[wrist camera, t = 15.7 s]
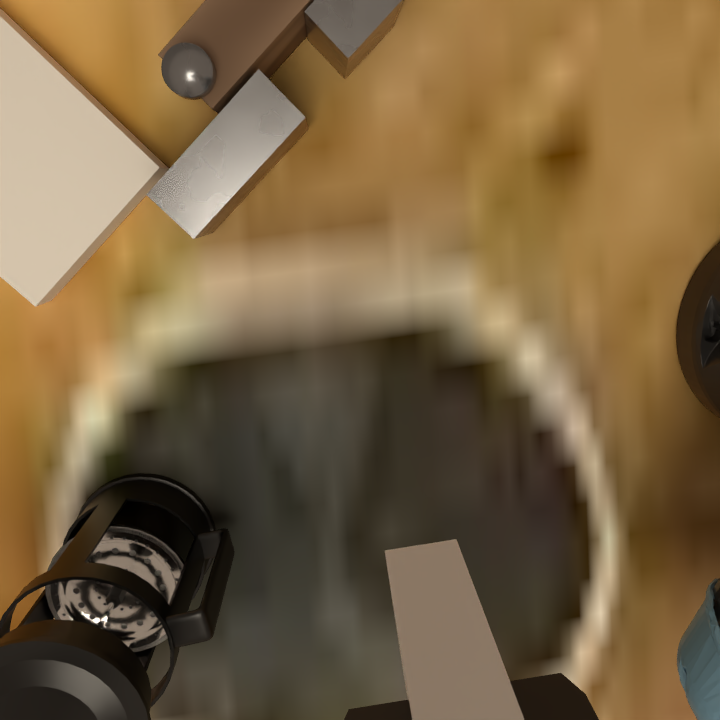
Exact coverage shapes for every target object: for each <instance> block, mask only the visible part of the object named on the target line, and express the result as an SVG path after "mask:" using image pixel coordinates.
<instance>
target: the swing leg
mask: <svg viewBox="0 0 720 720" xmlns="http://www.w3.org/2000/svg"><path fill="white" fill-rule="evenodd" d="M313 1H314V0H205V1H204V3H203V4H202V5H201V6H200V7H199V8H198V9H197V11H196V12H195V13H194V14H193V15H192V16H191V17H190V19H189V20H188V21H187V22H186V23H185V24H184V25H183V27H182V28H181V29H180V30H179V31H178V32H177V34H176V35H175V36H174V37H173V38H172V39H171V40H170V42H169V43H168V44H167V45H166V46H165V47H164V48H163V50H162V51H161V52H160V53H159V54H158V55H159V56H160V57H161V58H162V59H163V57H164V55H165V53H166V52H167V51H168V50H169V49H170V48H171V47H172V46H174V45H176V44H178V43H184V42H187V43H192V44H195V45H197V46H199V47H200V48H202V49H203V50H204V51H205V52H206V53H207V55H208V56H209V57H210V58H211V60H212V62H213V63H214V66H215V70H216V81H215V84H214V87H213V88H212V90H211V91H210V93H208V94H207V95H206V96H205V97H203V98H202V99H203V100H204V101H205V102H206V103H207V104H208V105H209V106H210V107H211V108H212V109H213V110H214V111H216V112H217V113H218V114H219V113H220V112H221V111H222V109H223V108H224V107H225V106H226V105H227V104H228V103H229V102H230V101H231V99H232V98H233V97H234V96H235V95H236V94H237V93H238V92H239V91H240V89H241V88H242V87H243V86H244V85H245V84H246V83H247V82H248V80H249V79H250V78H251V77H252V76H253V75H254V74H255V73H256V72H257V70H258V69H259V70H260V71H261V72H262V73H263V74H264V75H265V76H266V77H267V78H268V79H269V78H270V76H271V75H272V74H273V73H274V72H275V71H276V70H277V69H278V68H279V67H280V65H281V64H282V63H283V62H284V61H285V60H286V59H287V58H288V57H289V56H290V54H291V53H292V52H293V51H294V50H295V49H296V48H297V47H298V46H299V45H300V43H301V42H302V41H303V40H304V39H305V38H306V37H307V29H306V21H305V12H304V11H305V10H306V9H307V8H308V7H309V6H310V5H311V4H312V3H313Z"/></svg>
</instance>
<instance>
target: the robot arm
mask: <svg viewBox="0 0 720 720" xmlns="http://www.w3.org/2000/svg"><path fill="white" fill-rule="evenodd" d="M677 350H678V356H679V361H680V365H681V369H682V371H683V374H684V377H685V379H686V381H687V383H688V385H689V386H690V388H691V390H692V391H693V393H694V394H695V396H696V397H697V398H698V399H699V400H700V402H701V403H702V404H703V405H704V406H705V407H706V408H707V409H709V410H710V411H711V412H712V413H714V414H715V415H717V416H718V417H720V242H719V243H718V244H717V245H716V246H715V247H714V248H713V250H712V251H711V252H710V253H709V254H708V255H707V257H706V258H705V259H704V260H703V262H702V263H701V265H700V266H699V268H698V269H697V271H696V272H695V274H694V276H693V278H692V279H691V281H690V283H689V286H688V288H687V290H686V293H685V295H684V298H683V301H682V304H681V308H680V312H679V317H678V324H677ZM385 555H386V562H387V568H388V575H389V581H390V588H391V594H392V601H393V608H394V614H395V621H396V627H397V634H398V640H399V647H400V653H401V660H402V666H403V672H404V678H405V685H406V691H407V697H408V700H404V701H398V702H391V703H385V704H379V705H373V706H367V707H360V708H354V709H349V710H348V712H347V715H346V717H345V719H344V720H599V719H598V717H597V715H596V713H595V711H594V710H593V708H592V706H591V704H590V702H589V700H588V698H587V696H586V694H585V693H584V692H582V691H581V690H580V689H579V688H578V687H577V686H575V685H574V684H573V683H572V682H571V681H570V680H569V679H567V678H566V677H565V676H564V675H563V674H562V673H558V674H552V675H545V676H539V677H533V678H527V679H521V680H514V681H510V680H509V678H508V675H507V672H506V670H505V667H504V664H503V662H502V659H501V657H500V654H499V651H498V649H497V646H496V643H495V641H494V638H493V635H492V633H491V630H490V627H489V625H488V622H487V619H486V617H485V614H484V612H483V609H482V606H481V604H480V601H479V598H478V596H477V593H476V590H475V588H474V585H473V582H472V580H471V577H470V574H469V572H468V569H467V567H466V564H465V561H464V559H463V556H462V553H461V551H460V548H459V545H458V543H457V540H456V539H455V540H449V541H442V542H436V543H430V544H423V545H417V546H411V547H404V548H398V549H392V550H386V551H385ZM677 667H678V672H679V675H680V681H681V684H682V686H683V688H684V690H685V692H686V697H687V699H688V703H689V705H690V707H691V709H692V711H693V713H694V714H695V716H696V718H697V720H720V579H714V580H713V581H712V582H711V583H710V585H709V586H708V588H707V591H706V598H705V601H704V602H703V604H702V605H701V607H700V609H699V610H698V612H697V614H696V615H695V617H694V618H693V620H692V622H691V623H690V625H689V626H688V628H687V630H686V631H685V633H684V634H683V636H682V638H681V640H680V643H679V647H678V653H677Z"/></svg>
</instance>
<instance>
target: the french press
mask: <svg viewBox="0 0 720 720" xmlns="http://www.w3.org/2000/svg"><path fill="white" fill-rule="evenodd" d="M126 501H134V502H143V503H148V504H152V505H155V506H157V507H160V508H162V509H164V510H167V511H168V512H170V513H171V514H173V515H174V516H176V517H177V518H178V519H180V520H181V521H182V522H183V523H184V524H185V525H186V526H187V527H188V529H189V530H190V532H191V533H192V535H193V536H194V537H195V538H194V540H193V543H192V546H191V548H190V551H189V553H188V556H187V558H186V561H185V563H184V562H183V560H182V558H181V557H180V556H179V554H178V553H177V552H176V551H175V549H174V548H172V547H171V546H170V545H169V544H168V543H167V542H166V541H164V540H163V539H161V538H160V537H158V536H157V535H155V534H153V533H151V532H148V531H146V530H144V529H141V528H137V527H133V526H130V525H121V524H112V523H113V521H114V520H115V518H116V517H117V515H118V514H119V512H120V511H121V509H122V508H123V506H124V504H125V503H126ZM233 557H234V548H233V545H232V541H231V538H230V534H229V531H228V529H226V528H224V529H219V530H215V527H214V522H213V520H212V518H211V515H210V513H209V511H208V509H207V508H206V506H205V505H204V503H203V502H202V500H201V499H200V498H199V497H198V496H197V495H196V494H195V493H194V492H193V491H191V490H190V489H188V488H187V487H185V486H184V485H182V484H181V483H179V482H176V481H174V480H172V479H169V478H166V477H162V476H158V475H152V474H135V475H127V476H124V477H121V478H118V479H114V480H112V481H110V482H108V483H107V484H105V485H103V486H101V487H100V488H99V489H98V490H97V491H95V492H94V493H93V494H92V495H91V496H90V497H89V499H88V500H87V501H86V503H85V504H84V505H83V507H82V509H81V511H80V513H79V515H78V517H77V520H76V521H75V522H74V524H73V525H72V526H71V528H70V529H69V531H68V533H67V535H66V537H65V539H64V542H63V546H62V547H61V548H60V550H59V551H58V552H57V553H56V555H55V556H54V557H53V559H52V561H51V564H50V566H49V568H48V571H47V572H45V573H43V574H42V575H40V576H38V577H36V578H35V579H34V580H33V581H31V582H30V583H29V584H28V585H27V586H25V587H24V589H23V590H22V591H21V592H20V594H19V595H18V596H17V598H16V599H15V600H14V601H13V603H12V604H11V605H10V607H9V608H8V609H7V611H6V612H5V613H4V614H3V616H2V618H1V621H0V720H151V718H150V713H149V712H150V708H151V706H153V705H154V704H155V703H156V701H157V700H158V699H159V698H160V697H161V695H162V694H163V693H164V691H165V689H166V687H167V685H168V683H169V681H170V679H171V676H172V673H173V670H174V667H175V664H176V660H177V656H178V652H179V647H181V646H186V645H190V644H195V643H200V642H204V641H207V640H210V639H211V638H212V637H213V634H214V631H215V627H216V623H217V619H218V616H219V612H220V608H221V604H222V600H223V596H224V592H225V588H226V584H227V581H228V577H229V573H230V569H231V565H232V561H233ZM213 558H215V559H214V563H213V566H212V569H211V572H210V576H209V579H208V582H207V585H206V589H205V592H204V595H203V598H202V602H201V605H200V607H199V608H198V609H196V610H193V611H189V612H188V609H189V606H190V603H191V600H192V599H193V598H194V597H195V595H196V593H197V592H198V590H199V588H200V586H201V583H202V580H203V577H204V575H205V573H206V572H207V570H208V568H209V566H210V564H211V562H212V560H213ZM44 586H45V590H44V591H43V592H42V594H41V595H40V597H39V598H38V599H37V601H36V602H35V604H34V605H33V606H32V608H31V609H30V611H29V612H28V613H27V615H26V616H25V617H24V619H23V620H22V622H21V623H20V624H19V626H18V627H17V628H16V629H14V630H12V631H10V624H11V619H12V614H13V612H14V610H15V607H16V605H17V603H18V602H20V601H21V600H22V599H23V598H24V597H26V596H27V595H28V594H30V593H32V592H34V591H35V590H37V589H39V588H41V587H44ZM53 618H55V619H53ZM167 638H168V642H169V646H170V651H171V655H170V668H169V670H168V672H167V673H166V675H165V676H164V677H163V679H162V680H161V681H160V682H159V683H158V685H156V686H155V687H154V688H153V689H151V687H150V682H149V678H148V675H147V673H146V671H147V668H148V666H149V663H150V660H151V658H152V655H153V652H154V650H155V647H156V645H157V644H159V643H161V642H163V641H165V640H166V639H167Z"/></svg>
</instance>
